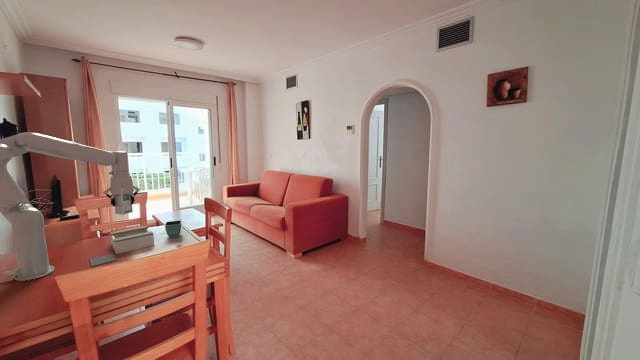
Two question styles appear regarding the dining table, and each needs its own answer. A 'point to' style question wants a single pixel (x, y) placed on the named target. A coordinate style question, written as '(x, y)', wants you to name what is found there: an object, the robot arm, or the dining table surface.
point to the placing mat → (103, 260)
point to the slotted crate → (131, 239)
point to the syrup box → (123, 203)
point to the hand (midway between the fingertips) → (123, 204)
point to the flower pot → (173, 228)
